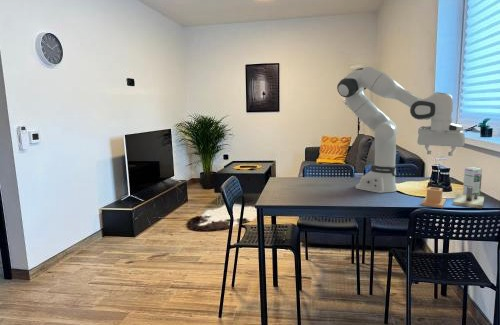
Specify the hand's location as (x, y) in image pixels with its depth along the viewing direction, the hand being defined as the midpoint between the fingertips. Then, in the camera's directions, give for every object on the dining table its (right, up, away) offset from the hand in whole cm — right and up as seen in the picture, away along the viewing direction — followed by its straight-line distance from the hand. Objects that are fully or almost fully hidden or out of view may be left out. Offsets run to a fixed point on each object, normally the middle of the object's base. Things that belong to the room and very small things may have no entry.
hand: (439, 155), depth 169 cm
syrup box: (+26, -21, +17) cm, 38 cm away
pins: (+17, -22, +2) cm, 28 cm away
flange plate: (-1, -24, +3) cm, 24 cm away
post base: (+16, -23, +3) cm, 29 cm away
